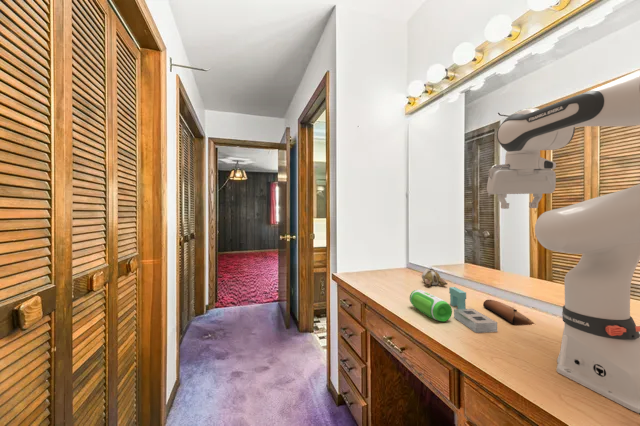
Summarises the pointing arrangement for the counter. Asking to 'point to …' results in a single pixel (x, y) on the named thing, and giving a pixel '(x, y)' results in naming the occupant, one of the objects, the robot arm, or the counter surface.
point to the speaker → (431, 305)
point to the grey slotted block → (475, 320)
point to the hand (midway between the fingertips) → (519, 208)
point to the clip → (457, 297)
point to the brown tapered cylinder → (507, 312)
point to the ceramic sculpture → (432, 278)
